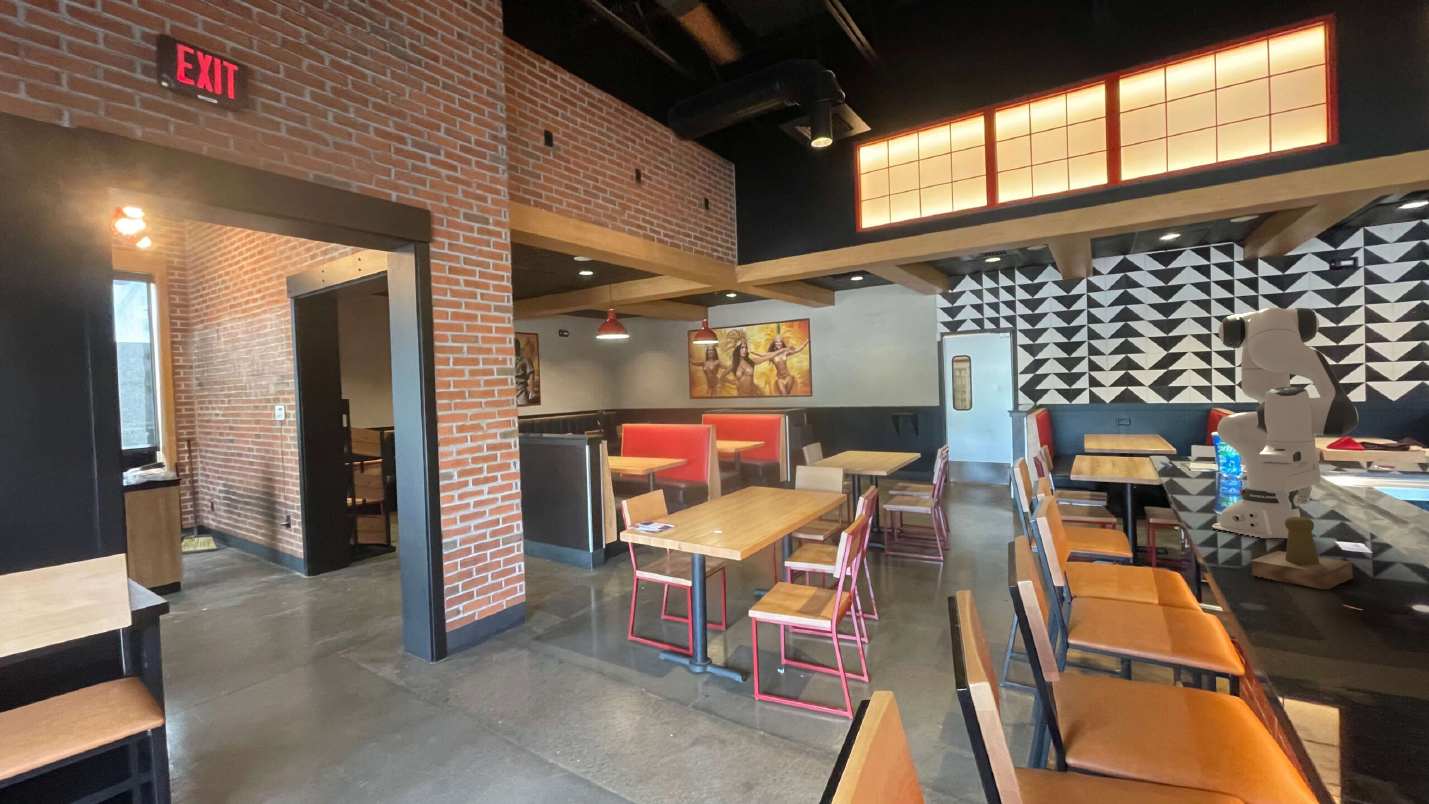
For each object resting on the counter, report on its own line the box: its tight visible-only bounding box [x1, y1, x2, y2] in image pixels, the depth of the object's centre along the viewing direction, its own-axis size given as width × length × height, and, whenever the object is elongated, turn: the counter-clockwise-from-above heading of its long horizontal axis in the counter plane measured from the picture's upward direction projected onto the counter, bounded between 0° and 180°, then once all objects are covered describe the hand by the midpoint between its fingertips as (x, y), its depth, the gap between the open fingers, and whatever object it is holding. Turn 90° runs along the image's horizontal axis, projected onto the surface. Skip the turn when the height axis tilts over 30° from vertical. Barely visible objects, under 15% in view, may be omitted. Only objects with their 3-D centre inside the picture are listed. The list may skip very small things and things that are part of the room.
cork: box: [1285, 516, 1319, 565], centre depth 147 cm, size 6×6×11 cm
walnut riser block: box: [1250, 550, 1354, 590], centre depth 147 cm, size 14×14×4 cm
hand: (1294, 506), depth 147 cm, fingers open, 8 cm apart
